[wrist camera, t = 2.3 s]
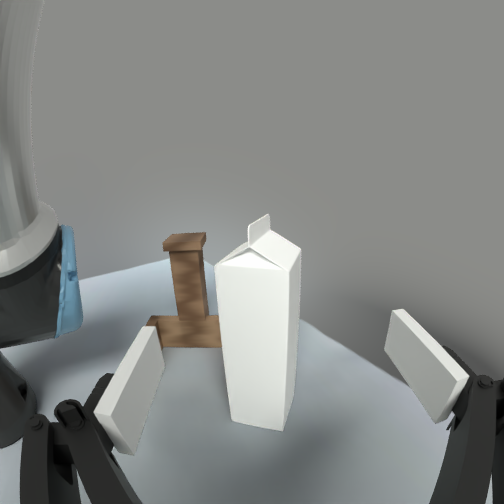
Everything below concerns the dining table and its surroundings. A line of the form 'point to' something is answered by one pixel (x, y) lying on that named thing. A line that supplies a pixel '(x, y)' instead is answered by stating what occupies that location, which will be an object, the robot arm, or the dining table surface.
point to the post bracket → (188, 297)
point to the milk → (260, 325)
